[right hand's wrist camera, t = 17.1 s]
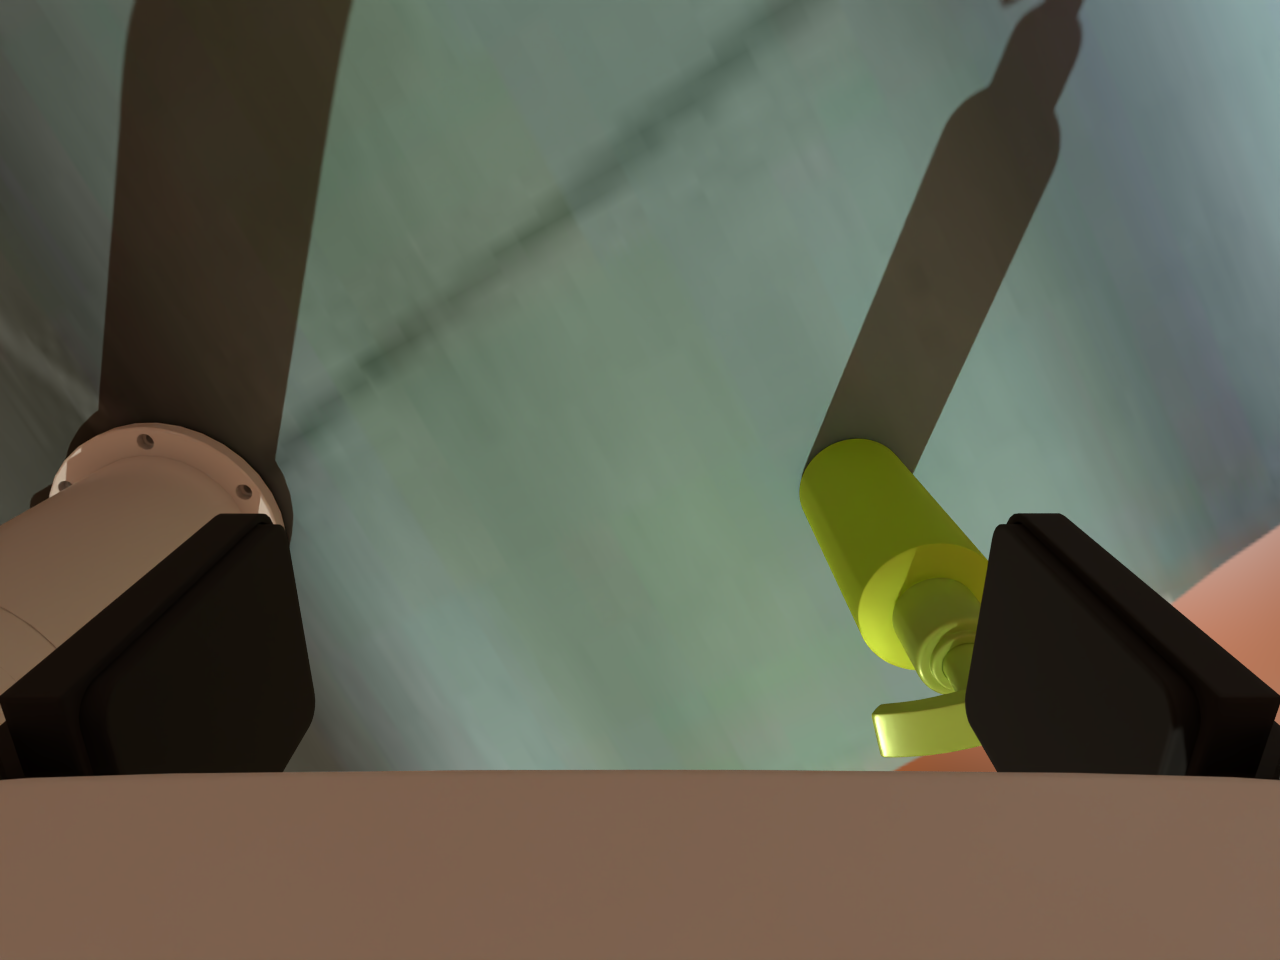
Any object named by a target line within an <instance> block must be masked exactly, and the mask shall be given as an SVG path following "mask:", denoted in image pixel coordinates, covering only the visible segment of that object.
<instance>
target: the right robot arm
mask: <svg viewBox="0 0 1280 960" xmlns="http://www.w3.org/2000/svg"><path fill="white" fill-rule="evenodd" d="M247 486H248V487H249V488H250V489H249V488H248V487H247ZM1279 705H1280V695H1279V694H1277V693H1276V692H1275V691H1274V690H1273V689H1271V688H1270V687H1269V686H1268V685H1267V684H1265V683H1264V682H1263V681H1262V680H1261V679H1259V678H1258V677H1257V676H1256V675H1255V674H1253V673H1252V672H1251V671H1250V670H1249V669H1247V668H1246V667H1245V666H1244V665H1243V664H1241V663H1240V662H1239V661H1238V660H1237V659H1235V658H1234V657H1233V656H1232V655H1231V654H1229V653H1228V652H1227V651H1226V650H1225V649H1223V648H1222V647H1221V646H1220V645H1219V644H1217V643H1216V642H1215V641H1214V640H1213V639H1211V638H1210V637H1209V636H1208V635H1207V634H1205V633H1204V632H1203V631H1202V630H1201V629H1199V628H1198V627H1197V626H1196V625H1195V624H1193V623H1192V622H1191V621H1190V620H1189V619H1187V618H1186V617H1185V616H1184V615H1183V614H1181V613H1180V612H1179V611H1178V610H1177V609H1175V608H1174V607H1173V606H1172V605H1171V604H1170V603H1168V602H1167V601H1166V600H1165V599H1164V598H1162V597H1161V596H1160V595H1159V594H1158V593H1156V592H1155V591H1154V590H1153V589H1152V588H1150V587H1149V586H1148V585H1147V584H1146V583H1144V582H1143V581H1142V580H1141V579H1140V578H1138V577H1137V576H1136V575H1135V574H1134V573H1132V572H1131V571H1130V570H1129V569H1128V568H1126V567H1125V566H1124V565H1123V564H1122V563H1120V562H1119V561H1118V560H1117V559H1116V558H1114V557H1113V556H1112V555H1111V554H1110V553H1108V552H1107V551H1106V550H1105V549H1104V548H1102V547H1101V546H1100V545H1099V544H1098V543H1096V542H1095V541H1094V540H1093V539H1092V538H1090V537H1089V536H1088V535H1087V534H1086V533H1084V532H1083V531H1082V530H1081V529H1080V528H1078V527H1077V526H1076V525H1075V524H1074V523H1072V522H1071V521H1070V520H1069V519H1068V518H1066V517H1065V516H1064V515H1062V514H1060V513H1018V514H1014V515H1012V516H1011V517H1010V518H1009V520H1008V522H1007V524H1000V525H998V526H997V527H996V529H995V531H994V534H993V537H992V543H991V549H990V554H989V560H988V566H987V572H986V578H985V583H984V589H983V595H982V601H981V607H980V612H979V618H978V624H977V630H976V636H975V641H974V647H973V653H972V659H971V665H970V670H969V676H968V682H967V688H966V694H965V710H966V715H967V719H968V722H969V724H970V726H971V728H972V730H973V731H974V733H975V735H976V736H977V738H978V740H979V742H980V743H981V745H982V747H983V748H984V750H985V752H986V753H987V755H988V757H989V759H990V760H991V762H992V764H993V765H994V767H995V769H996V771H997V772H910V771H795V770H451V771H359V772H283V771H284V769H285V767H286V765H287V764H288V762H289V760H290V759H291V757H292V755H293V753H294V752H295V750H296V748H297V747H298V745H299V743H300V742H301V740H302V738H303V736H304V735H305V733H306V731H307V730H308V728H309V726H310V724H311V722H312V719H313V715H314V710H315V694H314V688H313V682H312V676H311V670H310V665H309V659H308V653H307V647H306V641H305V636H304V630H303V624H302V618H301V612H300V607H299V601H298V595H297V589H296V583H295V578H294V572H293V566H292V560H291V554H290V549H289V543H288V537H287V534H286V531H285V527H284V523H283V519H282V515H281V512H280V510H279V507H278V505H277V503H276V501H275V499H274V497H273V495H272V493H271V491H270V490H269V488H268V487H267V486H266V484H265V483H264V481H263V480H262V478H261V477H260V476H259V474H258V473H257V472H256V471H255V470H254V469H253V468H252V467H251V466H250V465H249V464H248V463H247V462H246V461H245V460H244V459H243V458H241V457H240V456H239V455H237V454H236V453H235V452H233V451H232V450H231V449H229V448H228V447H226V446H225V445H224V444H222V443H220V442H218V441H216V440H214V439H212V438H210V437H208V436H206V435H204V434H202V433H199V432H196V431H193V430H190V429H187V428H184V427H181V426H175V425H169V424H163V423H134V424H129V425H125V426H120V427H116V428H113V429H111V430H108V431H106V432H104V433H102V434H99V435H97V436H95V437H93V438H92V439H90V440H88V441H87V442H85V443H83V444H82V445H80V446H78V447H77V448H76V449H75V450H74V451H73V452H72V453H71V454H70V455H69V456H68V457H67V458H66V459H65V460H64V462H63V464H62V465H61V467H60V469H59V470H58V472H57V474H56V475H55V478H54V481H53V484H52V487H51V491H50V494H49V498H48V499H46V500H44V501H43V502H41V503H39V504H37V505H36V506H34V507H32V508H30V509H29V510H27V511H25V512H23V513H22V514H20V515H18V516H16V517H15V518H13V519H11V520H9V521H7V522H6V523H4V524H2V525H0V960H1280V725H1279V724H1277V723H1276V722H1275V721H1274V720H1275V717H1276V714H1277V711H1278V708H1279Z"/></svg>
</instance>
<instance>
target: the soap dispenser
mask: <svg viewBox="0 0 1280 960" xmlns="http://www.w3.org/2000/svg"><path fill="white" fill-rule="evenodd" d="M800 502H801V506H802V509H803V511H804V513H805V515H806V517H807V520H808V522H809V524H810V526H811V528H812V530H813V532H814V534H815V537H816V539H817V541H818V543H819V545H820V547H821V549H822V552H823V554H824V556H825V558H826V560H827V562H828V564H829V567H830V569H831V571H832V573H833V575H834V577H835V579H836V581H837V584H838V586H839V588H840V590H841V592H842V594H843V596H844V599H845V601H846V603H847V605H848V607H849V609H850V611H851V614H852V616H853V618H854V620H855V622H856V624H857V626H858V628H859V631H860V633H861V635H862V637H863V639H864V641H865V642H866V644H867V645H868V647H869V648H870V649H871V650H872V651H873V652H874V653H875V654H876V655H877V656H879V657H880V658H881V659H883V660H884V661H886V662H888V663H890V664H892V665H895V666H898V667H901V668H905V669H911V670H916V672H917V674H918V675H919V677H920V678H921V680H922V681H923V682H924V683H925V684H926V685H927V686H928V687H929V688H930V689H932V690H934V691H936V692H938V693H941V694H944V695H940V696H936V697H931V698H926V699H921V700H915V701H908V702H900V703H889V704H882V705H880V706H878V707H877V708H876V709H875V711H874V712H873V713H872V719H873V724H874V728H875V733H876V737H877V741H878V745H879V750H880V754H881V756H882V757H911V756H924V755H934V754H941V753H948V752H953V751H959V750H963V749H968V748H973V747H977V746H980V745H981V743H980V742H979V740H978V738H977V736H976V735H975V733H974V731H973V730H972V728H971V726H970V724H969V722H968V719H967V715H966V710H965V694H966V688H967V682H968V676H969V670H970V665H971V659H972V653H973V647H974V641H975V636H976V630H977V624H978V618H979V612H980V607H981V601H982V595H983V589H984V583H985V578H986V572H987V566H988V560H987V559H986V558H985V557H984V556H983V554H982V553H981V552H980V551H979V550H978V549H977V548H976V546H975V545H974V544H973V543H972V542H971V541H970V539H969V538H968V537H967V536H966V535H965V534H964V533H963V531H962V530H961V529H960V528H959V527H958V526H957V525H956V523H955V522H954V521H953V520H952V519H951V518H950V517H949V515H948V514H947V513H946V512H945V511H944V510H943V509H942V507H941V506H940V505H939V504H938V503H937V502H936V501H935V499H934V498H933V497H932V496H931V495H930V494H929V493H928V491H927V490H926V489H925V488H924V487H923V486H922V484H921V483H920V482H919V481H918V480H917V479H916V478H915V476H914V475H913V474H912V473H911V472H910V471H909V470H908V468H907V467H906V466H905V465H904V464H903V463H902V462H901V460H900V459H899V458H898V457H897V456H896V455H895V454H894V453H893V452H892V451H891V450H890V449H889V448H887V447H886V446H884V445H882V444H880V443H878V442H875V441H872V440H867V439H848V440H843V441H840V442H837V443H834V444H832V445H830V446H828V447H827V448H825V449H824V450H822V451H821V452H820V453H818V454H817V455H816V456H815V457H814V458H813V459H812V461H811V462H810V463H809V465H808V466H807V468H806V470H805V471H804V474H803V476H802V479H801V483H800Z"/></svg>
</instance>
